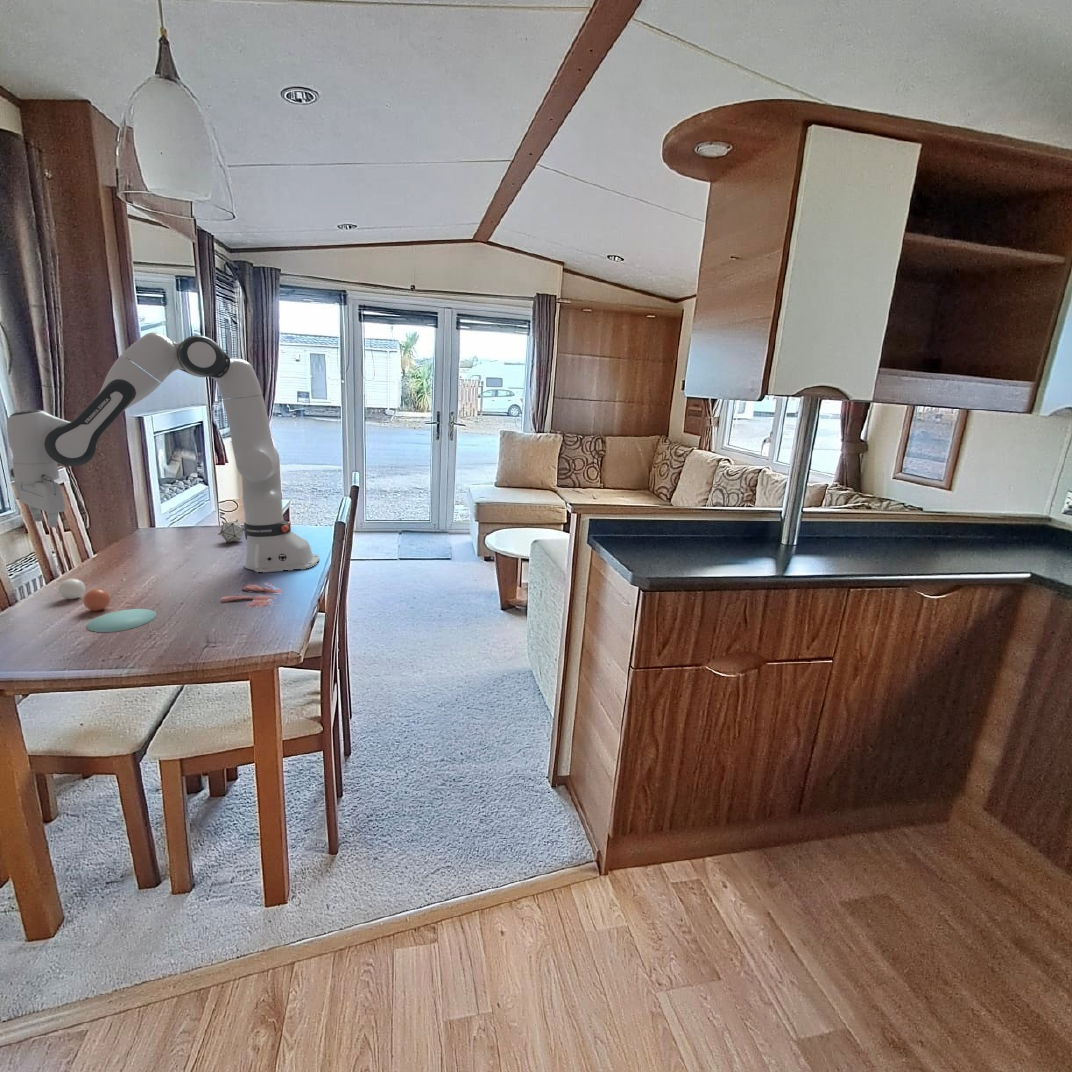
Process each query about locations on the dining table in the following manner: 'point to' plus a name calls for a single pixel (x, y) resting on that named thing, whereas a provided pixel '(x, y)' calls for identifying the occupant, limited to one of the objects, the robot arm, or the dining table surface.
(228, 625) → the dining table surface
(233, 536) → the game die
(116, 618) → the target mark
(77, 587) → the white egg
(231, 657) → the dining table surface
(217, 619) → the dining table surface
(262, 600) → the pinkish brown flat pieces
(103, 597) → the brown egg
